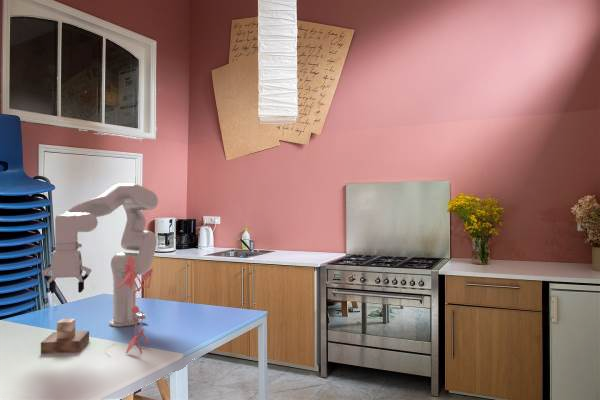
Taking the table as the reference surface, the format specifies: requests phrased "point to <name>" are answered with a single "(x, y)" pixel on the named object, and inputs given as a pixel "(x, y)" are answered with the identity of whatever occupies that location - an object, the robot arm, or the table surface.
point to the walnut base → (65, 343)
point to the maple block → (65, 328)
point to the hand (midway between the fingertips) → (66, 292)
